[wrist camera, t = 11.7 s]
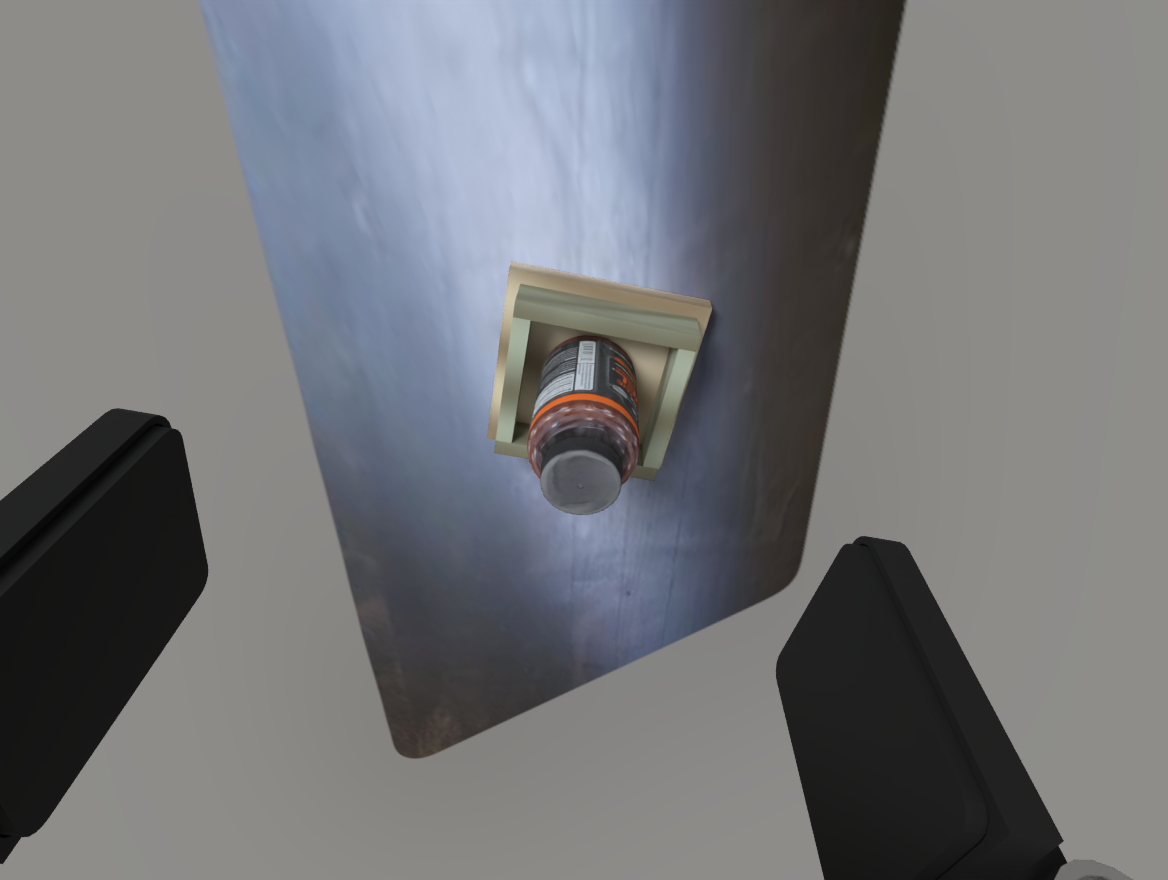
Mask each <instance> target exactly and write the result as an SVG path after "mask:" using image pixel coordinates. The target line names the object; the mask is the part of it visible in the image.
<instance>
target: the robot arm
mask: <svg viewBox="0 0 1168 880" xmlns="http://www.w3.org/2000/svg"><path fill="white" fill-rule="evenodd" d="M207 577H208V564H207V559H206V554H205V549H204V543H203V539H202V533H201V529H200V523H199V518H198V513H197V509H196V503H195V498H194V493H193V488H192V483H191V478H190V473H189V468H188V463H187V458H186V453H185V448H184V443H183V438H182V435H181V433H180V432H179V431H178V430H176V429H172V428H171V426H170V423H169V421H168V420H167V419H166V418H165V417H163V416H160V415H155V414H149V413H142V412H137V411H131V410H125V409H119V408H117V409H112V410H110V411H108V412H107V413H105V414H104V415H103V416H101V417H100V418H99V419H98V420H96V421H95V422H94V423H93V424H92V425H90V426H89V427H88V428H87V429H86V430H84V431H83V432H82V433H81V434H80V435H79V436H77V437H76V438H75V439H74V440H72V441H71V442H70V443H69V444H68V445H66V446H65V447H64V448H63V449H62V450H60V452H58V453H57V454H56V455H55V456H53V457H52V458H51V459H50V460H49V461H47V462H46V463H45V464H44V465H43V466H41V467H40V468H39V469H38V470H37V471H35V472H34V473H33V474H32V475H31V476H29V477H28V478H27V479H26V480H25V481H23V482H22V483H21V484H20V485H19V486H17V487H16V488H15V489H14V490H13V491H11V492H10V493H9V494H8V495H7V496H5V498H3V499H2V500H1V501H0V864H3V863H4V862H5V860H6V859H7V857H8V856H9V854H10V853H11V851H12V850H13V848H14V847H15V846H16V844H17V843H18V841H19V840H20V838H21V837H28V836H30V835H32V834H34V833H36V832H37V831H38V830H39V829H40V828H41V827H42V826H43V825H44V823H45V822H46V821H47V819H48V818H49V817H50V815H51V814H52V812H53V811H54V809H55V808H56V807H57V805H58V804H59V802H60V801H61V799H62V798H63V796H64V795H65V793H66V792H67V790H68V789H69V787H70V786H71V784H72V783H73V782H74V780H75V778H76V777H77V776H78V774H79V773H80V771H81V770H82V768H83V767H84V765H85V764H86V762H87V761H88V759H89V758H90V756H91V755H92V753H93V752H94V750H95V749H96V748H97V746H98V745H99V743H100V742H101V740H102V739H103V737H104V736H105V734H106V733H107V731H108V730H109V729H110V727H111V725H112V724H113V723H114V721H115V720H116V718H117V717H118V715H119V714H120V712H121V711H122V709H123V708H124V706H125V705H126V704H127V702H128V701H129V699H130V698H131V696H132V695H133V693H134V692H135V690H136V689H137V687H138V686H139V684H140V683H141V681H142V680H143V679H144V677H145V676H146V674H147V673H148V671H149V670H150V668H151V667H152V665H153V664H154V662H155V661H156V659H157V658H158V656H159V655H160V654H161V652H162V651H163V649H164V647H165V646H166V645H167V643H168V642H169V640H170V639H171V637H172V636H173V634H174V633H175V631H176V630H177V628H178V627H179V626H180V624H181V623H182V621H183V620H184V618H185V617H186V615H187V614H188V612H189V611H190V609H191V608H192V606H193V605H194V604H195V602H196V600H197V599H198V598H199V596H200V595H201V593H202V591H203V589H204V587H205V584H206V581H207ZM776 679H777V684H778V688H779V692H780V696H781V701H782V705H783V709H784V713H785V717H786V721H787V726H788V730H789V734H790V738H791V742H792V746H793V751H794V755H795V759H796V763H797V767H798V771H799V776H800V780H801V784H802V788H803V792H804V796H805V801H806V805H807V809H808V813H809V817H810V821H811V826H812V830H813V834H814V838H815V842H816V847H817V850H818V855H819V859H820V863H821V867H822V872H823V876H824V880H1133V879H1131V878H1130V877H1128V876H1126V875H1125V874H1123V873H1121V872H1120V871H1118V870H1116V869H1115V868H1113V867H1110V866H1107V865H1104V864H1101V863H1098V862H1096V861H1093V860H1073V861H1071V862H1069V863H1067V861H1066V859H1065V857H1064V856H1063V854H1062V852H1061V850H1060V848H1059V846H1058V845H1059V844H1061V843H1062V842H1063V839H1062V837H1061V835H1060V833H1059V832H1058V830H1057V828H1056V826H1055V824H1054V822H1053V820H1052V818H1051V816H1050V814H1049V813H1048V811H1047V809H1046V807H1045V805H1044V803H1043V801H1042V800H1041V798H1040V796H1039V794H1038V792H1037V790H1036V788H1035V786H1034V784H1033V783H1032V781H1031V779H1030V777H1029V775H1028V773H1027V771H1026V769H1025V767H1024V766H1023V764H1022V762H1021V760H1020V758H1019V756H1018V754H1017V752H1016V751H1015V749H1014V747H1013V745H1012V743H1011V741H1010V739H1009V737H1008V735H1007V734H1006V732H1005V730H1004V728H1003V726H1002V724H1001V722H1000V721H999V719H998V717H997V715H996V713H995V711H994V709H993V707H992V705H991V704H990V702H989V700H988V698H987V696H986V694H985V692H984V691H983V688H982V687H981V685H980V683H979V681H978V679H977V677H976V675H975V673H974V672H973V670H972V668H971V666H970V664H969V662H968V660H967V658H966V657H965V655H964V653H963V651H962V649H961V647H960V645H959V643H958V641H957V640H956V638H955V636H954V634H953V632H952V630H951V628H950V626H949V625H948V623H947V621H946V619H945V618H944V615H943V613H942V612H941V610H940V608H939V606H938V604H937V602H936V600H935V598H934V596H933V594H932V593H931V591H930V589H929V587H928V585H927V583H926V581H925V579H924V578H923V576H922V574H921V572H920V570H919V568H918V566H917V564H916V562H915V561H914V559H913V557H912V555H911V553H910V551H909V550H908V548H907V547H906V546H905V545H904V544H902V543H901V542H896V541H890V540H884V539H878V538H872V537H866V536H861V537H859V538H857V539H856V540H855V541H854V542H853V544H845V545H844V546H843V547H842V548H841V549H840V551H839V553H838V555H837V556H836V558H835V560H834V561H833V563H832V565H831V567H830V568H829V570H828V572H827V573H826V575H825V577H824V579H823V580H822V582H821V584H820V585H819V587H818V589H817V591H816V592H815V594H814V596H813V598H812V600H811V601H810V603H809V604H808V606H807V608H806V610H805V612H804V613H803V615H802V617H801V619H800V620H799V622H798V624H797V625H796V627H795V629H794V631H793V632H792V634H791V636H790V637H789V639H788V641H787V643H786V644H785V646H784V648H783V650H782V651H781V653H780V655H779V657H778V660H777V665H776Z"/></svg>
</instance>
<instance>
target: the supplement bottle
mask: <svg viewBox="0 0 1168 880" xmlns="http://www.w3.org/2000/svg"><path fill="white" fill-rule="evenodd" d="M636 381H637V380H636V373H635V369H634V366H633V363H632V361H631V359H630V358H629V356H628V355H627V353H626V352H625V351H624V350H623V349H622V348H621V347H620V346H618V345H617V344H616V343H614V342H612V341H610V340H609V339H607V338H603V337H599V336H589V335H583V336H577V337H573V338H570V339H568V340H566V341H564V342H562V343H560V344H559V345H557V346H556V347H555V348H554V349H553V350H552V351H551V352H550V354H549V355H548V357H547V358H546V360H545V362H544V365H543V368H542V372H541V375H540V381H539V385H538V390H537V395H536V400H535V404H534V409H533V414H532V419H531V424H530V430H529V435H528V441H527V452H528V459H529V462H530V464H531V467H532V469H533V470H534V472H535V474H536V475H537V476H538V478H539V479H540V485H541V490H542V492H543V494H544V496H545V498H546V499H547V500H548V501H549V502H550V503H551V504H552V505H553V506H554V507H556V508H558V509H559V510H561V511H564V512H566V513H570V514H576V515H589V514H594V513H597V512H600V511H603V510H604V509H606V508H608V507H609V506H610V505H612V504H613V503H614V501H615V500H616V499H617V497H618V496H619V493H620V490H621V485H622V484H624V483H625V482H626V481H627V480H628V478H629V477H630V476H631V475H632V473H633V471H634V469H635V468H636V465H637V462H638V459H639V451H640V433H639V418H638V400H637V383H636Z"/></svg>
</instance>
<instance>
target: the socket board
mask: <svg viewBox="0 0 1168 880" xmlns="http://www.w3.org/2000/svg"><path fill="white" fill-rule="evenodd" d="M711 311H712V306H711V303H710V301H709V300H704V299H699V298H694V297H689V296H684V295H679V294H674V293H669V292H664V291H659V290H654V289H649V288H644V287H639V286H634V285H629V284H623V283H618V282H613V281H608V280H603V279H598V278H593V277H588V276H583V275H578V274H573V273H568V272H563V271H558V270H553V269H548V268H543V267H537V266H532V265H527V264H522V263H517V262H511V265H510V267H509V273H508V281H507V289H506V296H505V304H504V312H503V319H502V327H501V335H500V343H499V350H498V358H497V366H496V374H495V381H494V389H493V397H492V405H491V412H490V420H489V428H488V436H487V438H489V439H494V440H496V442H495V449H494V453H497V454H502V455H508V456H514V457H520V458H525V459H528V452H527V441H528V435H529V430H530V424H531V419H532V414H533V409H534V404H535V400H536V395H537V390H538V385H539V381H540V375H541V372H542V368H543V365H544V362H545V360H546V358H547V357H548V355H549V354H550V352H551V351H552V350H553V349H554V348H555V347H556V346H557V345H559V344H560V343H562V342H564V341H566V340H568V339H570V338H573V337H577V336H583V335H589V336H599V337H603V338H607V339H609V340H610V341H612V342H614V343H616V344H617V345H618V346H620V347H621V348H622V349H623V350H624V351H625V352H626V353H627V355H628V356H629V358H630V359H631V361H632V363H633V366H634V369H635V373H636V380H637V381H636V383H637V400H638V418H639V433H640V451H639V459H638V462H637V465H636V468H635V469H634V471H633V473H632V475H631V476H630V477H635V478H641V479H646V480H652V481H654V480H655V477H656V474H657V471H658V468H661V465H662V462H663V459H664V456H665V452H666V449H667V446H668V443H669V440H670V437H671V434H672V431H673V428H674V425H675V422H676V419H677V416H678V413H679V409H680V406H681V403H682V400H683V397H684V394H685V391H686V388H687V385H688V382H689V379H690V376H691V373H692V370H693V367H694V363H695V360H696V357H697V354H698V351H699V348H700V345H701V342H702V339H703V336H704V333H705V330H706V327H707V324H708V320H709V317H710V314H711Z"/></svg>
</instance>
